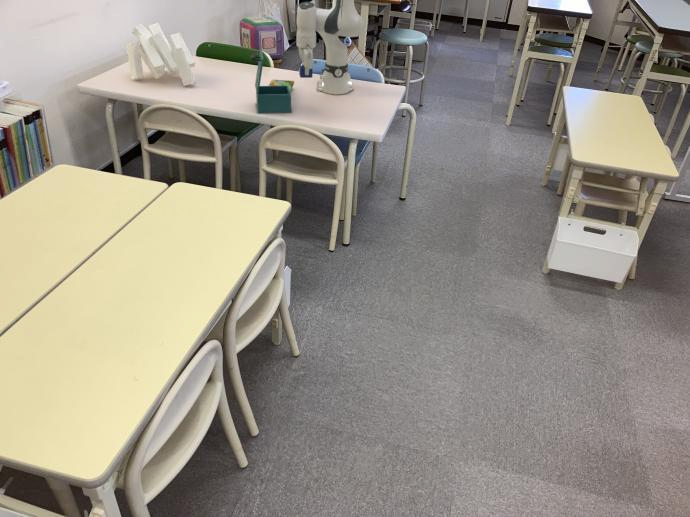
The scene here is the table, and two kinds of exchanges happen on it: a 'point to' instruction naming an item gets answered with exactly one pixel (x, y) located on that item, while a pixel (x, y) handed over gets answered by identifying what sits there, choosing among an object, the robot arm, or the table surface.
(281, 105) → the cooler
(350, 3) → the robot arm
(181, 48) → the pile of blocks
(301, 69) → the block
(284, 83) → the puzzle game
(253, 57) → the cooler lid
